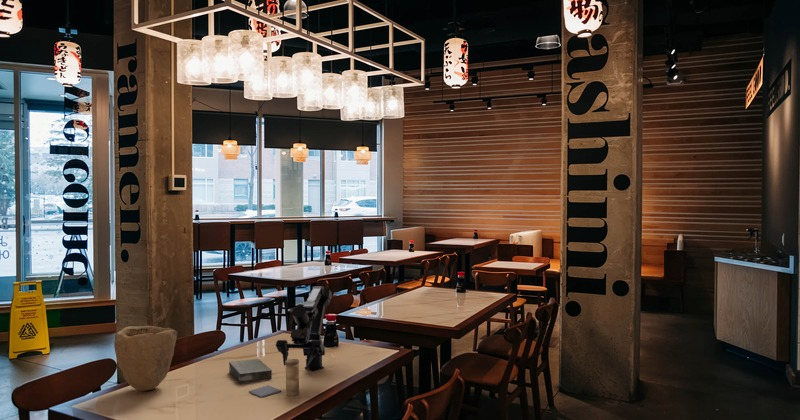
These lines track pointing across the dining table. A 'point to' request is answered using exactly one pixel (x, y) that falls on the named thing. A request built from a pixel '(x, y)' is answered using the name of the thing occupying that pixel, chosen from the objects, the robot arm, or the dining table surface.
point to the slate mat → (264, 391)
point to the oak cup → (292, 377)
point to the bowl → (145, 354)
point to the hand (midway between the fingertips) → (295, 365)
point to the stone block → (249, 371)
